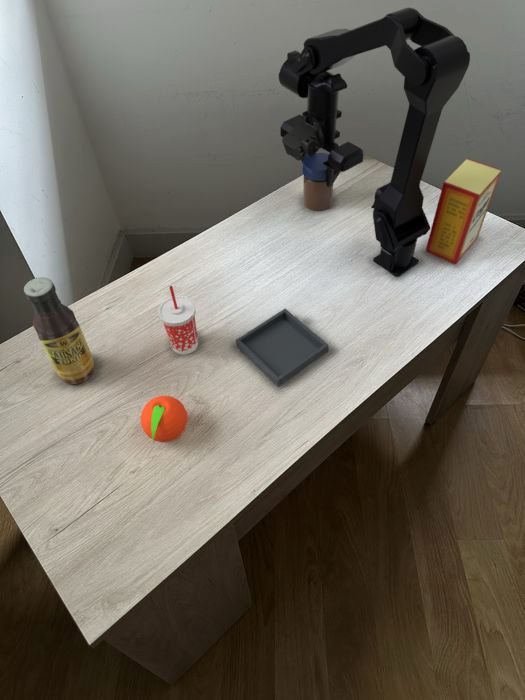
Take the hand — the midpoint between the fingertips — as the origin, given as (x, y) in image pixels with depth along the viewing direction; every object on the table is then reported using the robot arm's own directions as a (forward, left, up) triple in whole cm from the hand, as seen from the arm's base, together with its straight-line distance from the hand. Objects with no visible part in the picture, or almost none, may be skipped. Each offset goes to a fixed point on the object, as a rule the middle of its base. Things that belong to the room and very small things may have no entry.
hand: (318, 179), depth 110 cm
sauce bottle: (+62, +8, -6) cm, 63 cm away
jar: (0, 0, -6) cm, 6 cm away
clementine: (+57, +28, -6) cm, 64 cm away
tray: (+33, +27, -6) cm, 43 cm away
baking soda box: (-10, +29, -6) cm, 31 cm away
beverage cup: (+45, +15, -6) cm, 48 cm away
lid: (0, 0, +4) cm, 4 cm away
